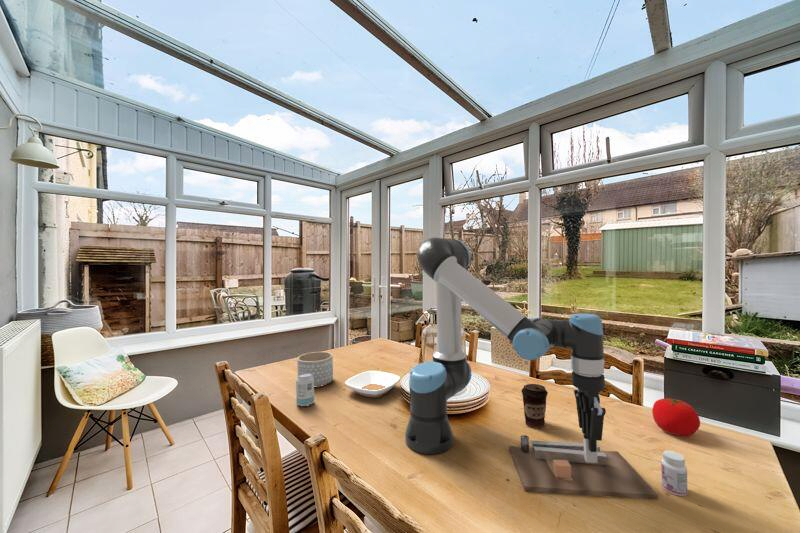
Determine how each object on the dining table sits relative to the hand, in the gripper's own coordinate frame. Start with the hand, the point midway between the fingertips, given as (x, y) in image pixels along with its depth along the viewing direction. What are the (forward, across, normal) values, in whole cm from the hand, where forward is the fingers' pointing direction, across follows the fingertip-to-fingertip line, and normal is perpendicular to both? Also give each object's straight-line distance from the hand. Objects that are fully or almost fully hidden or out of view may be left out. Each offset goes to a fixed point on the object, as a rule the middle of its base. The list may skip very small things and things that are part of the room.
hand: (590, 460), depth 84 cm
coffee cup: (+3, +24, +8) cm, 25 cm away
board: (+3, -1, +4) cm, 5 cm away
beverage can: (+2, +32, +95) cm, 100 cm away
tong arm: (+1, +2, +5) cm, 5 cm away
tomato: (+3, +23, -35) cm, 42 cm away
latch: (+1, -4, +9) cm, 10 cm away
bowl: (+2, +47, +70) cm, 84 cm away
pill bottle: (+3, -5, -17) cm, 18 cm away
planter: (+1, +55, +100) cm, 114 cm away
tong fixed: (+1, +6, +6) cm, 8 cm away
